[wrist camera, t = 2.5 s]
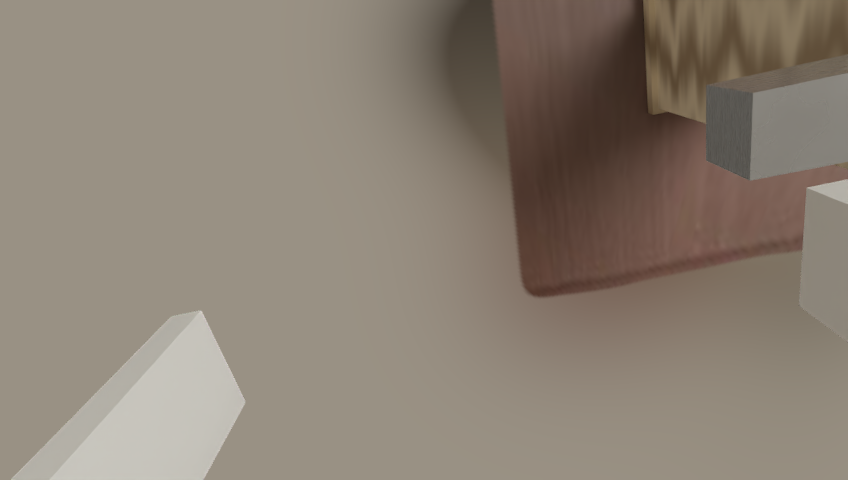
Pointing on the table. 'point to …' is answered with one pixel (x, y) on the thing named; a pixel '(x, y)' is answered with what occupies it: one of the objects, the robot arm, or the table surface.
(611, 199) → the table surface
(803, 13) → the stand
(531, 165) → the table surface
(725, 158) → the grey round-headed handle
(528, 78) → the table surface
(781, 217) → the table surface
